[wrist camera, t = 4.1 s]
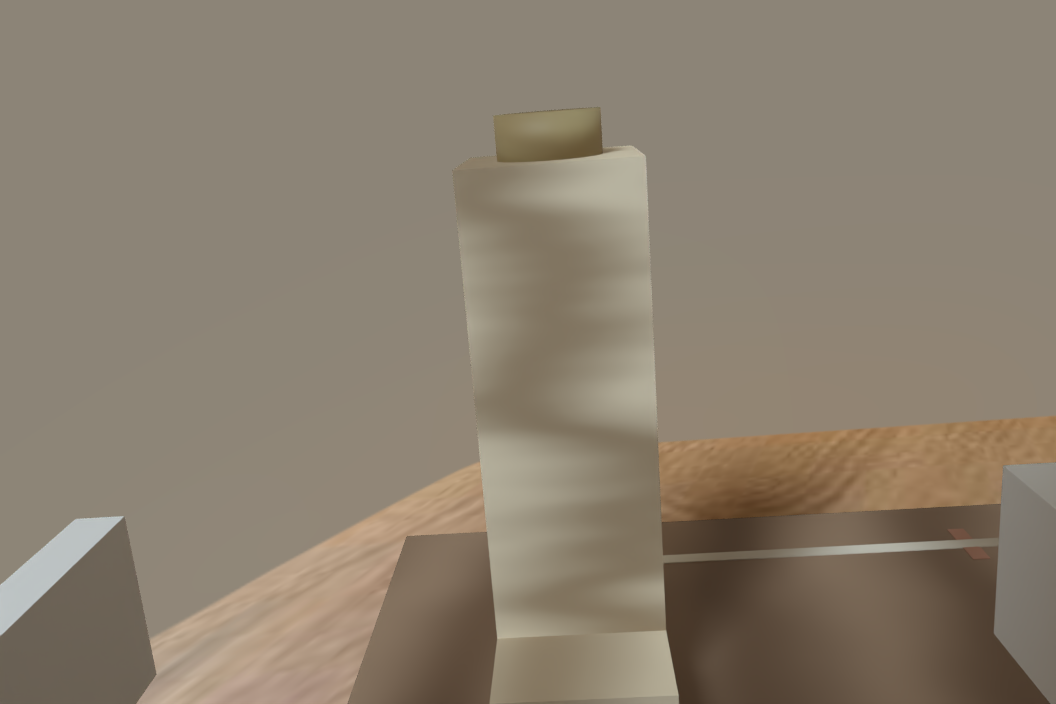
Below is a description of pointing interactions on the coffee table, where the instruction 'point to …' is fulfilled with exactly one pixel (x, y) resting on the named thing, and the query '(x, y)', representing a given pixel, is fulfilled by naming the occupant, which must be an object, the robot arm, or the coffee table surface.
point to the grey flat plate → (745, 613)
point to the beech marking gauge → (566, 411)
